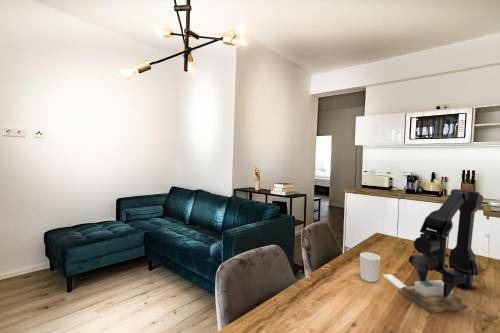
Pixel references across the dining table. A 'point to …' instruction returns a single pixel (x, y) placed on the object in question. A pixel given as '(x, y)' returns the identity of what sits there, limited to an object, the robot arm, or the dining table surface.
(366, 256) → the white cup
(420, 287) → the white box
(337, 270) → the dining table surface
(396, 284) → the strip
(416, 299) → the cradle
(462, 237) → the robot arm
